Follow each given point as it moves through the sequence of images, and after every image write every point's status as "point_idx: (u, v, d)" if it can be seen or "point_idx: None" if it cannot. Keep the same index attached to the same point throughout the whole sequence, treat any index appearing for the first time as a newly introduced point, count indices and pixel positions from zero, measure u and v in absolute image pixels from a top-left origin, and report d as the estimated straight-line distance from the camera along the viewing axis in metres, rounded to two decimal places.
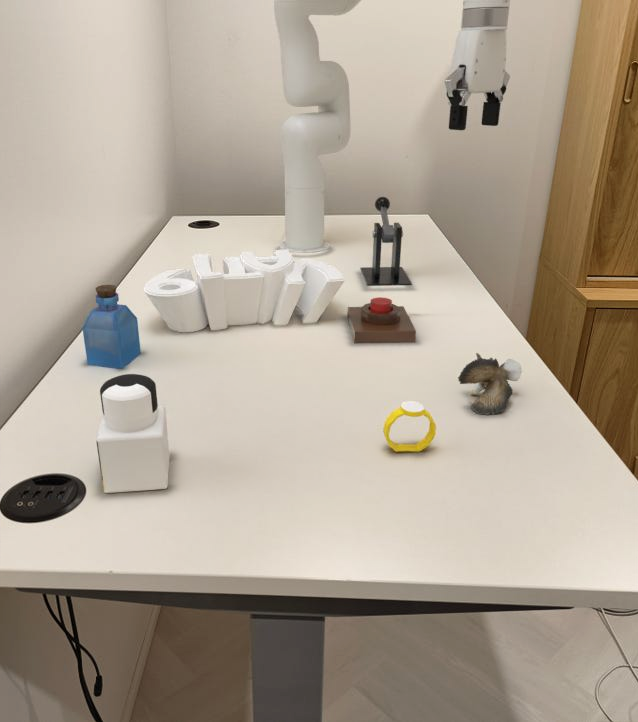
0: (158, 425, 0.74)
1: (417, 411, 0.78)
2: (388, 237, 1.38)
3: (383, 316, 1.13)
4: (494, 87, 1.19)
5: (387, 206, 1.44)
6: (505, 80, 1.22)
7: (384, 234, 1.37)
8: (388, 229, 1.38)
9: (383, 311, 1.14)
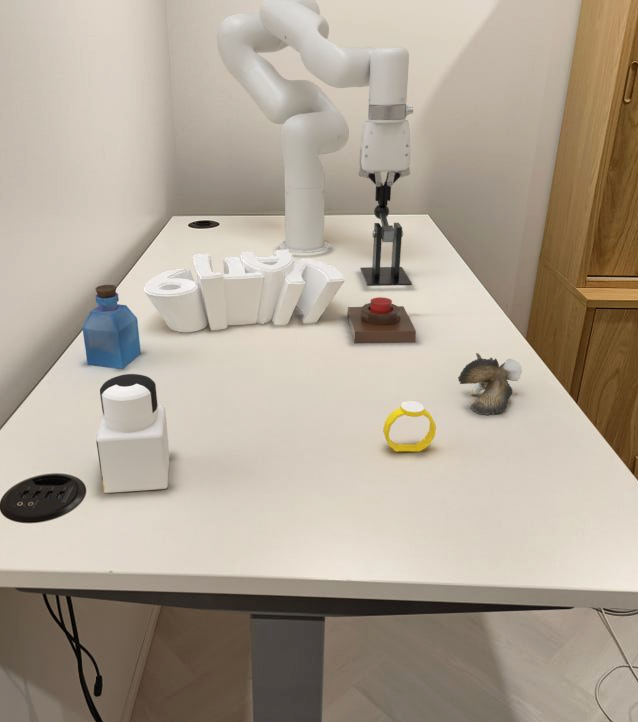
0: (157, 425, 0.74)
1: (417, 411, 0.78)
2: (388, 236, 1.37)
3: (383, 316, 1.13)
4: (395, 167, 1.40)
5: (386, 212, 1.45)
6: (403, 171, 1.42)
7: (384, 232, 1.37)
8: (388, 228, 1.38)
9: (383, 311, 1.14)
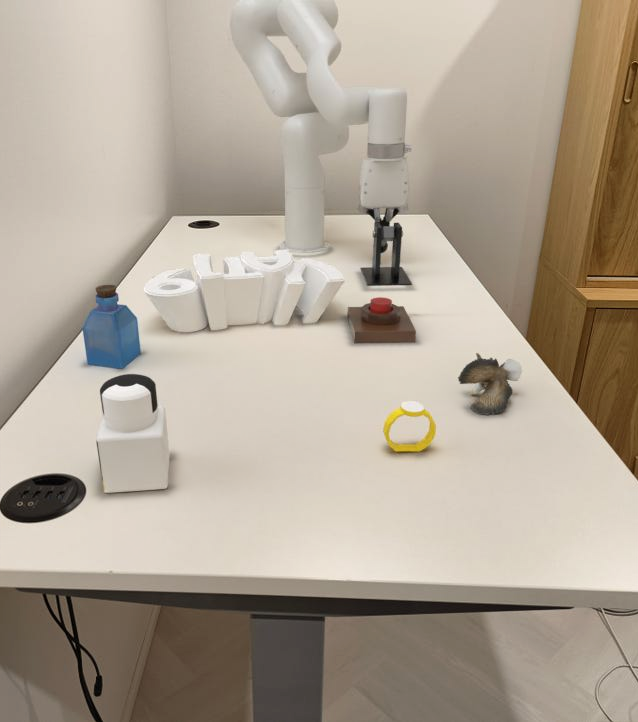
0: (157, 425, 0.74)
1: (417, 411, 0.78)
2: (388, 231, 1.37)
3: (383, 316, 1.13)
4: (394, 204, 1.43)
5: None
6: (402, 207, 1.44)
7: (383, 226, 1.37)
8: None
9: (383, 311, 1.14)
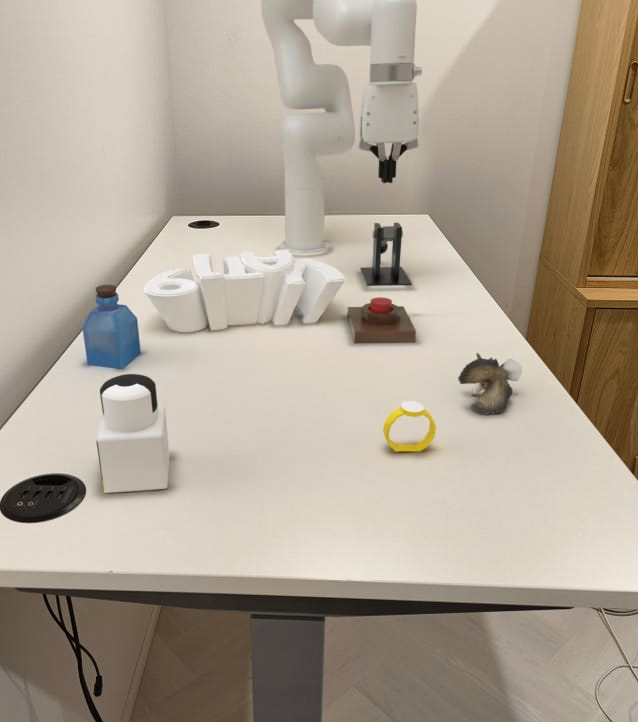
0: (157, 425, 0.74)
1: (417, 411, 0.78)
2: (388, 231, 1.37)
3: (383, 316, 1.13)
4: (401, 138, 1.21)
5: (385, 243, 1.47)
6: (411, 143, 1.23)
7: (383, 226, 1.37)
8: None
9: (383, 311, 1.14)
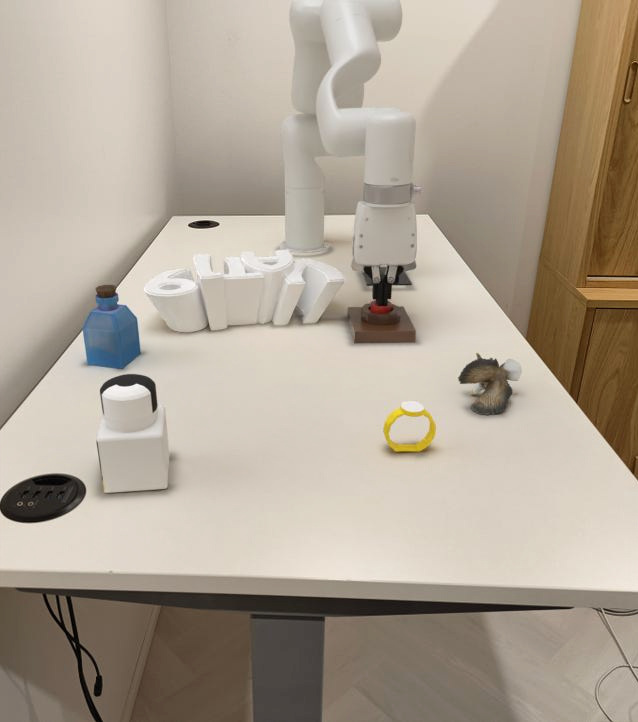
0: (157, 425, 0.74)
1: (417, 411, 0.78)
2: None
3: (383, 316, 1.13)
4: (397, 261, 1.10)
5: None
6: (408, 265, 1.12)
7: None
8: None
9: None
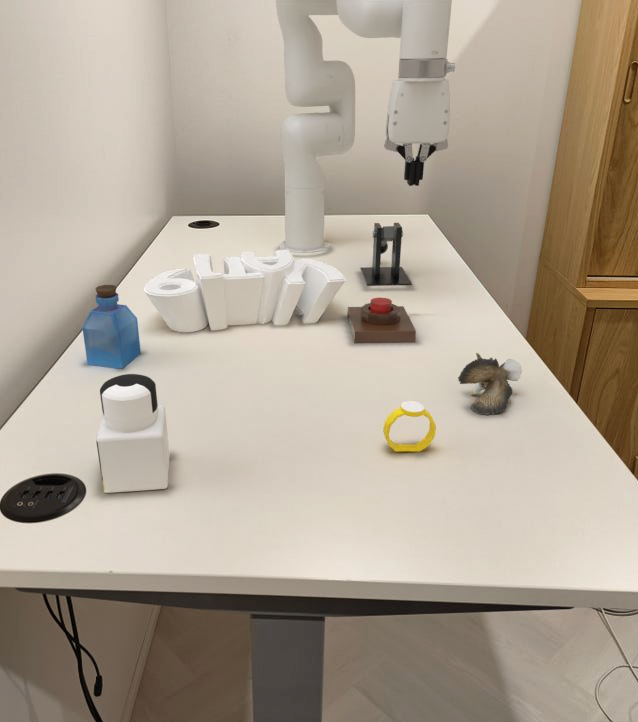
0: (157, 425, 0.74)
1: (417, 411, 0.78)
2: (388, 231, 1.37)
3: (383, 316, 1.13)
4: (430, 139, 1.14)
5: (385, 243, 1.47)
6: (440, 144, 1.15)
7: (383, 226, 1.37)
8: None
9: (383, 311, 1.14)
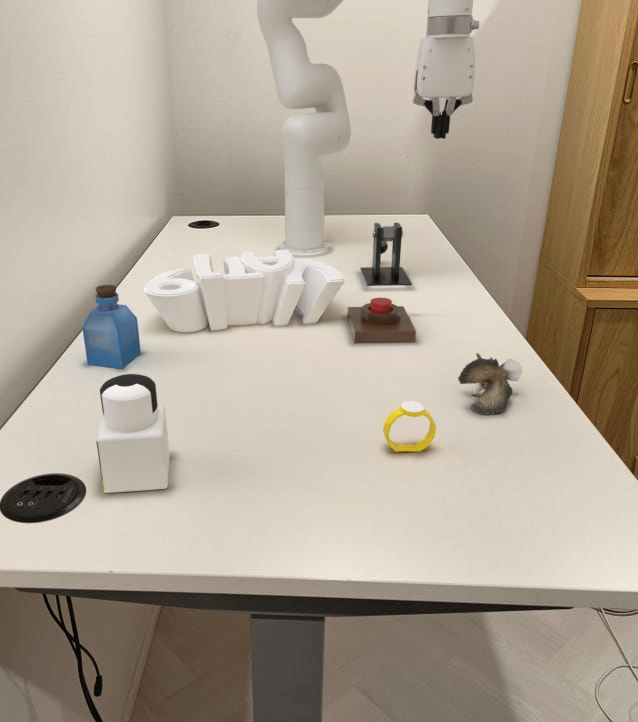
0: (157, 425, 0.74)
1: (417, 411, 0.78)
2: (388, 231, 1.37)
3: (383, 316, 1.13)
4: (456, 93, 1.22)
5: (385, 243, 1.47)
6: (465, 98, 1.23)
7: (383, 226, 1.37)
8: None
9: (383, 311, 1.14)
